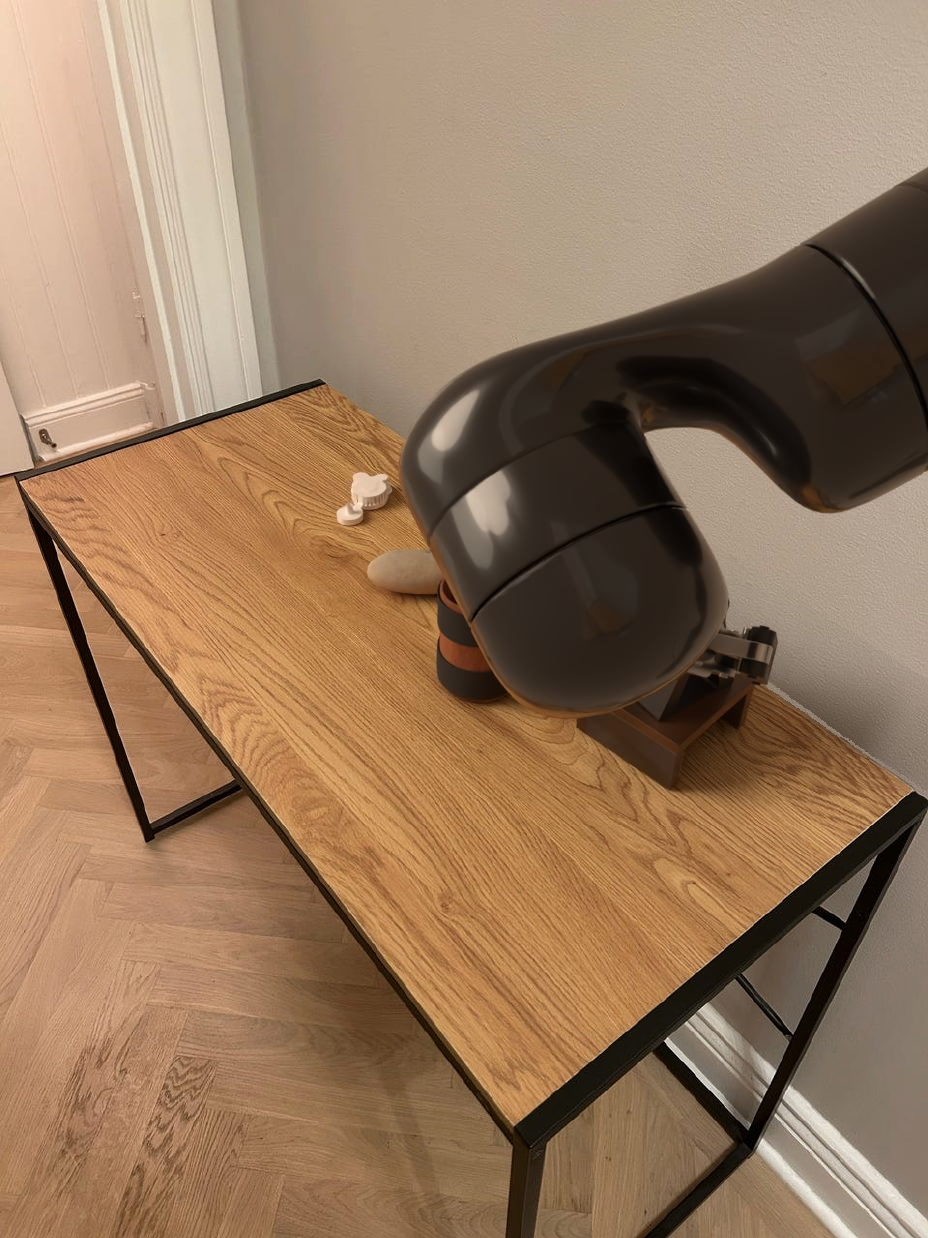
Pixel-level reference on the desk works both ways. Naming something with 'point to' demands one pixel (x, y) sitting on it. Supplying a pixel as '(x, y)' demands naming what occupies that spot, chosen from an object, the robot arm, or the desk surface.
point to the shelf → (666, 730)
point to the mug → (462, 655)
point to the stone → (406, 571)
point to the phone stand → (683, 693)
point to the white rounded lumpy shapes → (364, 497)
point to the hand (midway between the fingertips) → (652, 641)
